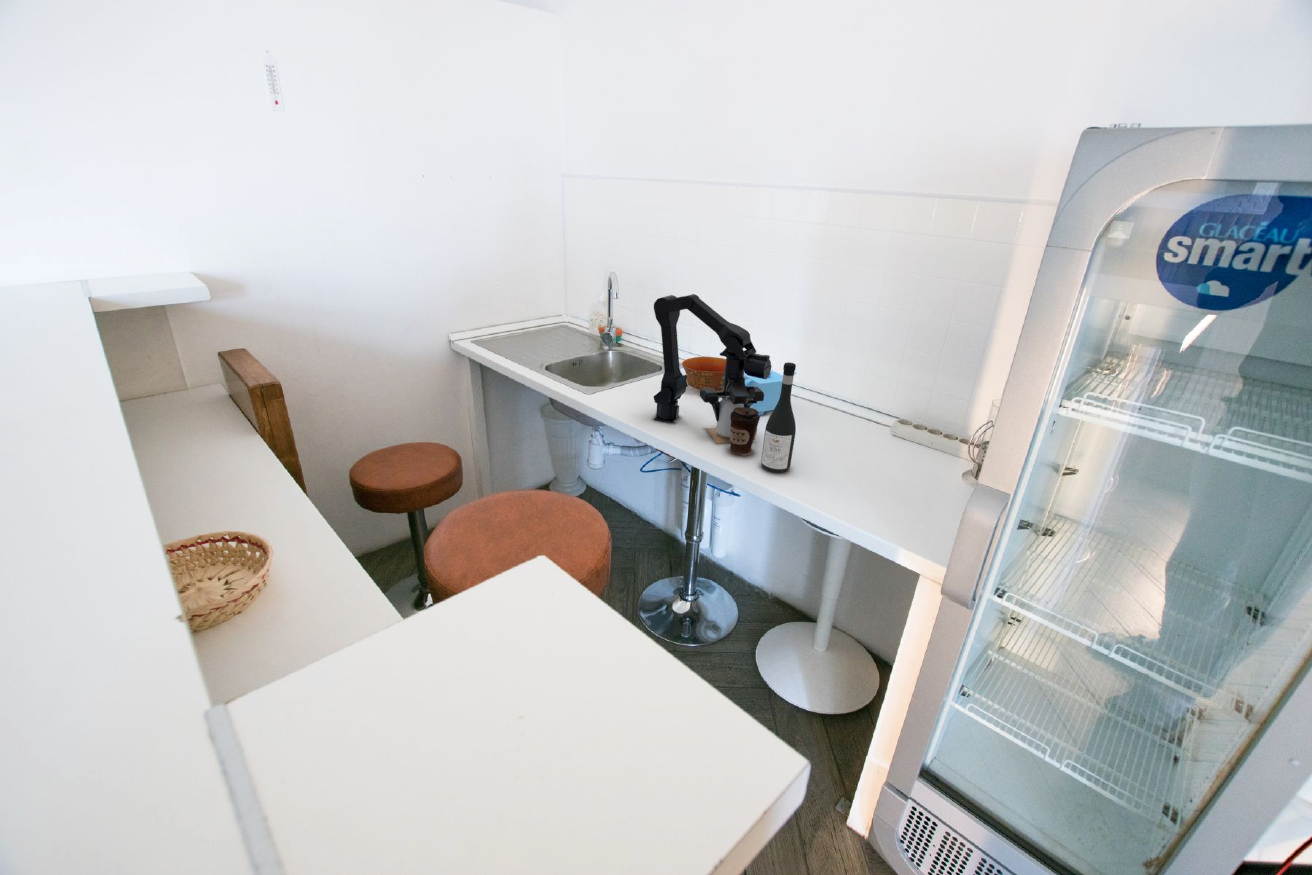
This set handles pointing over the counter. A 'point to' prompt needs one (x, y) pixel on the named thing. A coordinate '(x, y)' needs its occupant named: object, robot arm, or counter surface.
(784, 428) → the wine bottle
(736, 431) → the coffee cup
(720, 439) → the coaster
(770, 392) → the teapot
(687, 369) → the bowl
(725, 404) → the can
